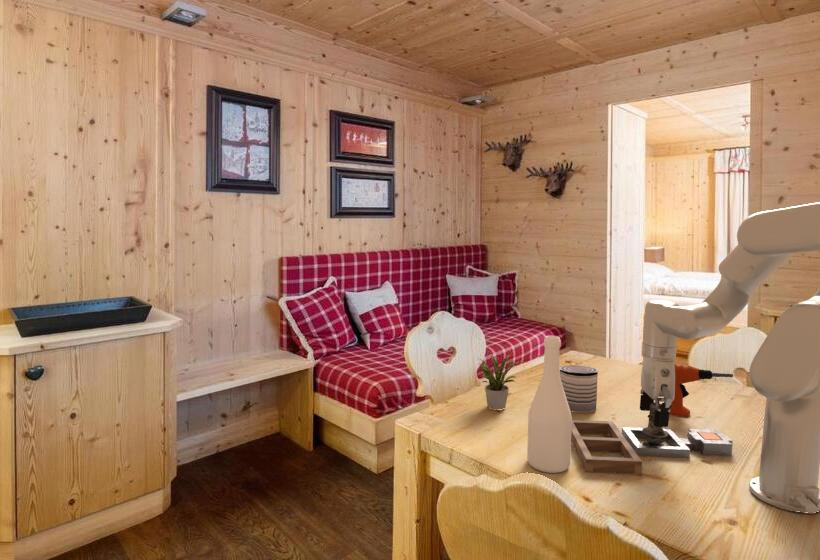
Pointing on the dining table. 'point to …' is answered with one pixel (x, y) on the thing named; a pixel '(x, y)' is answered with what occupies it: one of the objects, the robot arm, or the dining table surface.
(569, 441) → the wine bottle
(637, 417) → the dining table surface
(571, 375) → the can
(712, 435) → the button
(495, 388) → the house plant
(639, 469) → the walnut rack
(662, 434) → the chess piece
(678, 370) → the toy drill
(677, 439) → the grey flat frame piece
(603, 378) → the dining table surface
